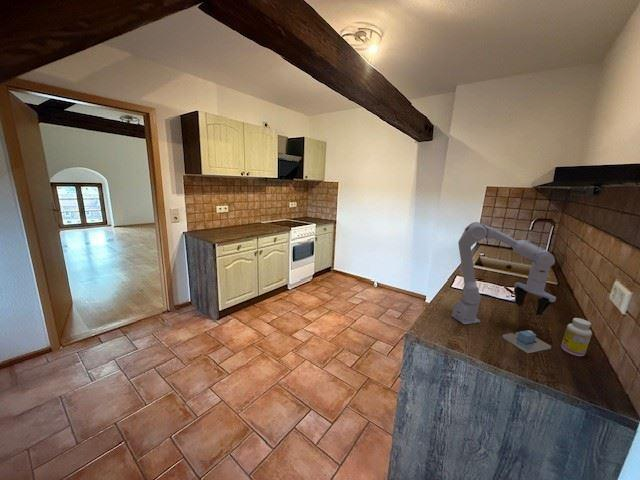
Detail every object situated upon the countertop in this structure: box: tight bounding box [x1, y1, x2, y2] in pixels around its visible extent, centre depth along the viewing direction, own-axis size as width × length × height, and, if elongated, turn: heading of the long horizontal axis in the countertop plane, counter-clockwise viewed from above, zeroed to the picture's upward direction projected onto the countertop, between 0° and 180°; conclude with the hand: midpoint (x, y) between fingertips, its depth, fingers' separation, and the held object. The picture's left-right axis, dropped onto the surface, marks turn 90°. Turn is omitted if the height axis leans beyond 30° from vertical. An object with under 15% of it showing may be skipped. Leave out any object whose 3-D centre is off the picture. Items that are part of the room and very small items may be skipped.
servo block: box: [517, 330, 537, 345], centre depth 100 cm, size 5×3×5 cm, turn 106°
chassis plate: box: [501, 331, 552, 354], centre depth 101 cm, size 12×10×1 cm
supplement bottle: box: [560, 317, 593, 357], centre depth 95 cm, size 7×7×13 cm
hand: (529, 309), depth 106 cm, fingers open, 7 cm apart
